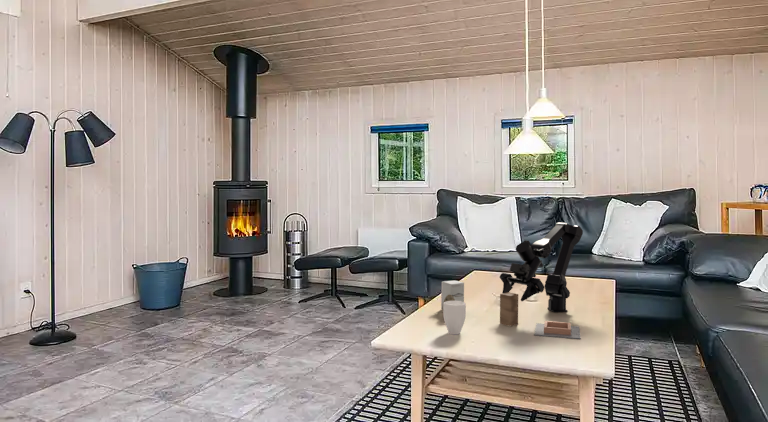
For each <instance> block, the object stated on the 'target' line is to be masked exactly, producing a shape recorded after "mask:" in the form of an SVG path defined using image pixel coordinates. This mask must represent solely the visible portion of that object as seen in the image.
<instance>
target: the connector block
mask: <svg viewBox="0 0 768 422" xmlns="http://www.w3.org/2000/svg"><path fill="white" fill-rule="evenodd" d="M499 296H500V297H499V324H500V325H504V326H506V327H507V326H508V327H513V326H516V325H519V294H518V293H513V292H511V291H509V292H507V293H500V294H499Z"/></svg>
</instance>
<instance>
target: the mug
mask: <svg viewBox="0 0 768 422" xmlns="http://www.w3.org/2000/svg"><path fill="white" fill-rule="evenodd" d="M466 307H467V305H466V302H465V301H464V302H462V301H446V302H444V303H443V311H442V315H443V320H444V325H445V327H446V329H447V332H448V334H450V335H460V334H461V332H462V329H463V326H464V324H465V321H466V316H467V312H466Z"/></svg>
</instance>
